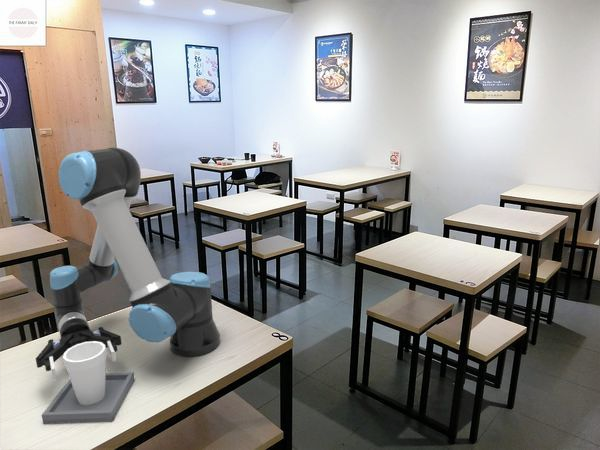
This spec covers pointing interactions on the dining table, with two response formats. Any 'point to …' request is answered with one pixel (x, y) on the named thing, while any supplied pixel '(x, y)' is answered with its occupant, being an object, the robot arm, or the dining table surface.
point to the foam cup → (87, 371)
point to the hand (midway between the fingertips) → (84, 365)
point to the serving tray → (105, 410)
